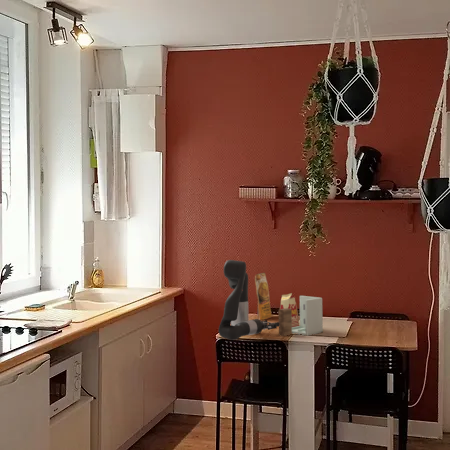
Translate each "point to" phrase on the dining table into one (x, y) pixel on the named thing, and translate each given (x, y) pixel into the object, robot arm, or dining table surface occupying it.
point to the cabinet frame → (310, 316)
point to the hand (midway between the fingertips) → (272, 323)
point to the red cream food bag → (290, 303)
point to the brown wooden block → (285, 322)
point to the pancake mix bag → (262, 297)
